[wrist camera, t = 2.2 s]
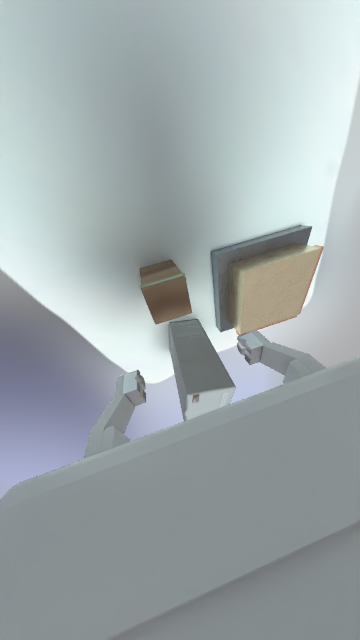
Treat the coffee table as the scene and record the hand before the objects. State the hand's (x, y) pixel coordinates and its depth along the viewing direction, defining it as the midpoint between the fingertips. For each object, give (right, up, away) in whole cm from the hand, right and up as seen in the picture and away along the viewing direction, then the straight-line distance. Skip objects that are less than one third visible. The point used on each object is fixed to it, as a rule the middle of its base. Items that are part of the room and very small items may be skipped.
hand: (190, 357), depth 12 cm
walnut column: (-4, +10, +13) cm, 16 cm away
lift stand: (+13, +10, +17) cm, 24 cm away
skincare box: (0, 0, +21) cm, 21 cm away
